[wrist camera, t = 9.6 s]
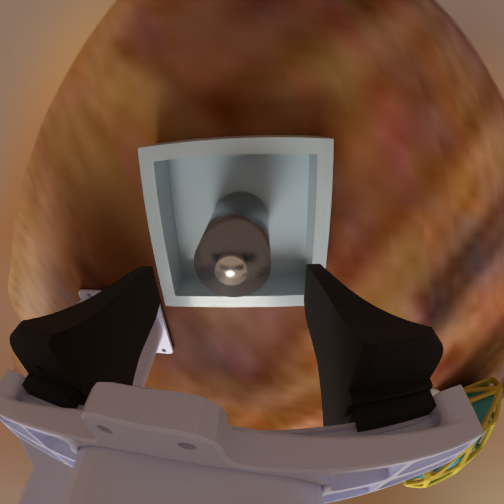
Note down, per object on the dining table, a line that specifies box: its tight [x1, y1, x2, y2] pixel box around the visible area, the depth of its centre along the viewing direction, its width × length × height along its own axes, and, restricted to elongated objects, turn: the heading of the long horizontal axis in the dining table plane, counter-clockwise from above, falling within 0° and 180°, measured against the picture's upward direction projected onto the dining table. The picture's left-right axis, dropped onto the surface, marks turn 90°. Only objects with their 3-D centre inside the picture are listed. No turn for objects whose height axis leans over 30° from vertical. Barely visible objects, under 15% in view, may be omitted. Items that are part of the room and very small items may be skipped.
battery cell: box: [194, 191, 271, 297], centre depth 17 cm, size 4×4×8 cm
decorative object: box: [403, 377, 503, 488], centre depth 29 cm, size 23×23×15 cm
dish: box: [138, 135, 334, 307], centre depth 19 cm, size 12×12×4 cm
